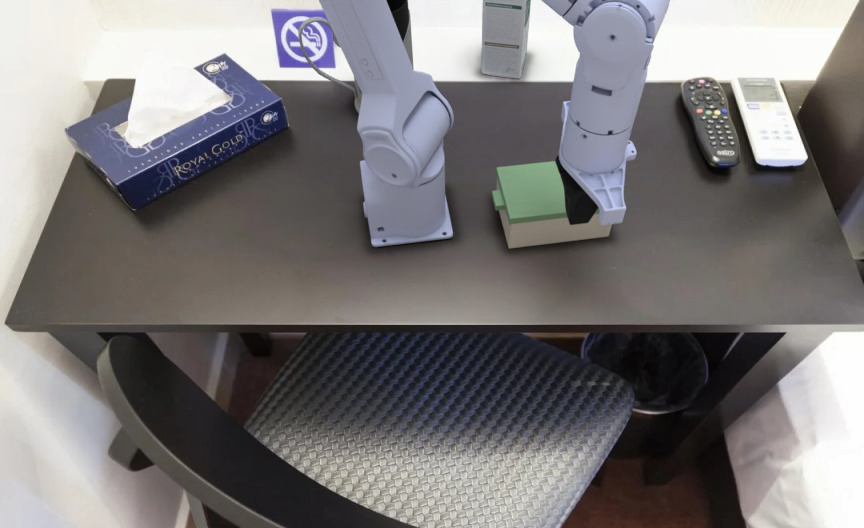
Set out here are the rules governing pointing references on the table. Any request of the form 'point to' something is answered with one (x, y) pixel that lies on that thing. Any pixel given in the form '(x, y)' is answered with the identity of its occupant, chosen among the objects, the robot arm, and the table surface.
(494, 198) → the lunchbox
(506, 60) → the syrup box
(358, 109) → the glass holder
